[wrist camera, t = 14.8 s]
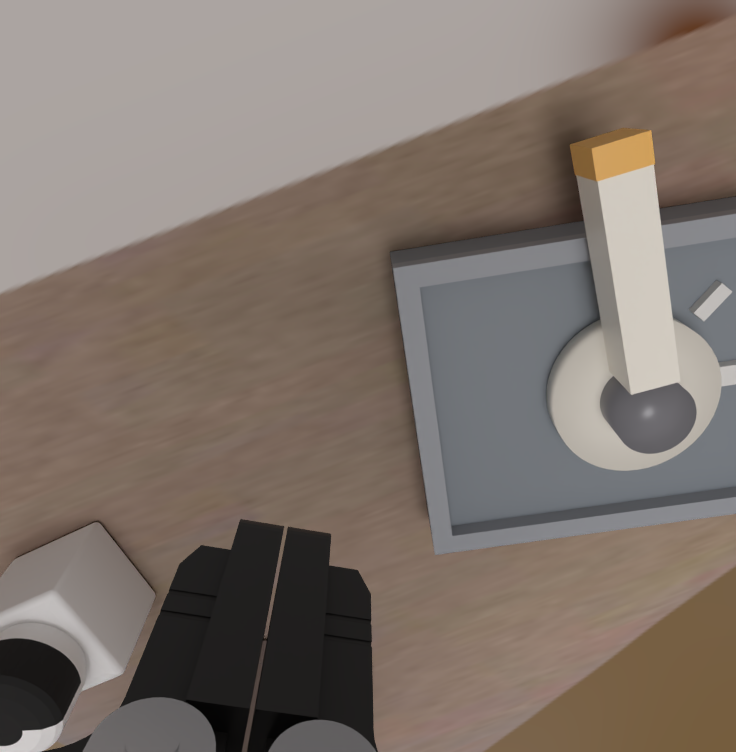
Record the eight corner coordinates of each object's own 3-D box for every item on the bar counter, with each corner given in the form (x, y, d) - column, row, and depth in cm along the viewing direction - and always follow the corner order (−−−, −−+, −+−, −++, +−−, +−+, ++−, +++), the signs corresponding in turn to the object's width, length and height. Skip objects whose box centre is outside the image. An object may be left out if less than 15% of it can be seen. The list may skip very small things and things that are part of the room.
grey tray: (794, 465, 42) (836, 499, 39) (428, 516, 44) (434, 554, 40) (824, 182, 36) (878, 190, 32) (389, 252, 37) (393, 268, 33)
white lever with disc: (714, 434, 38) (759, 475, 34) (561, 474, 39) (586, 518, 34) (680, 105, 31) (730, 106, 27) (495, 163, 32) (515, 171, 28)
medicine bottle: (12, 558, 45) (-103, 707, 33) (99, 518, 43) (9, 659, 32) (75, 630, 47) (-13, 791, 36) (158, 594, 46) (94, 750, 35)
